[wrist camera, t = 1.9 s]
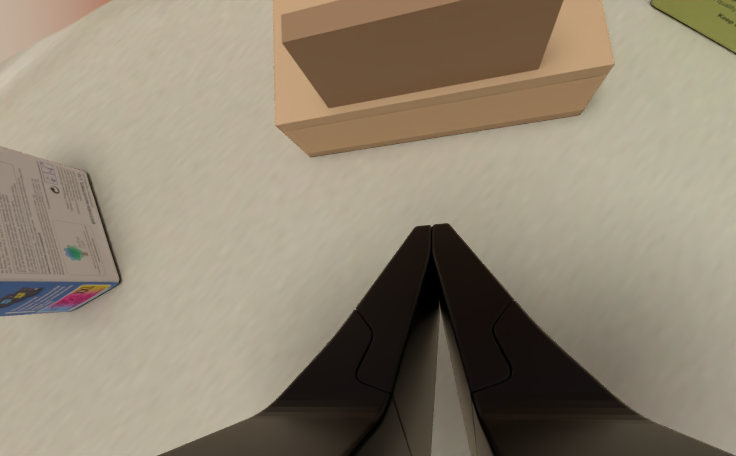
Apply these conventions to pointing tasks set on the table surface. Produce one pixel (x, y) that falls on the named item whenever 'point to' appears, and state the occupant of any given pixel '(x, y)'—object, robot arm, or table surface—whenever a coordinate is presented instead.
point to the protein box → (705, 17)
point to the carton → (449, 118)
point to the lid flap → (425, 53)
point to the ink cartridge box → (49, 238)
